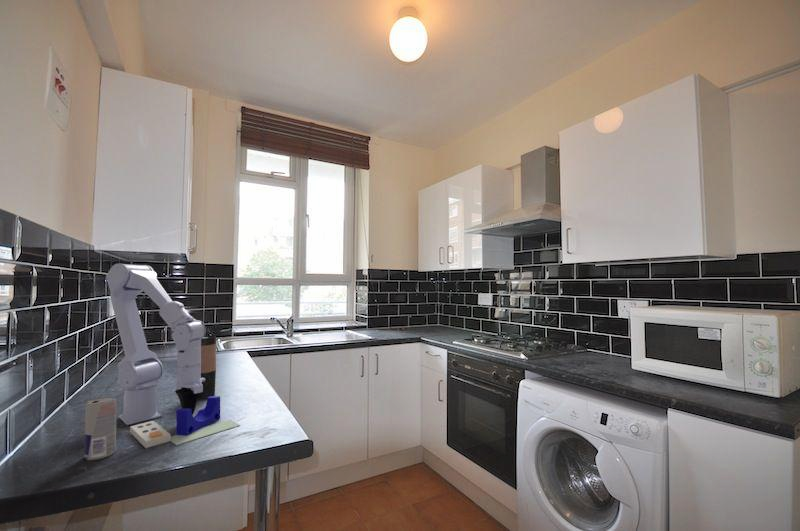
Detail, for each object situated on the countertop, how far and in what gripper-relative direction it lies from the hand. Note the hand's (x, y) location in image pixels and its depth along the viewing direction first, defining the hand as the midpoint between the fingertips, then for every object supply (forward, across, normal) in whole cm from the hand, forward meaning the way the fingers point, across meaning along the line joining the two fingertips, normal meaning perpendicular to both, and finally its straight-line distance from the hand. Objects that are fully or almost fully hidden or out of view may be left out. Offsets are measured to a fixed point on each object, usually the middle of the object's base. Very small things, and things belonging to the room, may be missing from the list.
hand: (188, 414), depth 99 cm
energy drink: (+2, -7, +20) cm, 21 cm away
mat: (+2, -12, 0) cm, 12 cm away
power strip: (+2, -4, +10) cm, 11 cm away
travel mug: (+2, +20, -11) cm, 23 cm away
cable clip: (+2, -6, 0) cm, 7 cm away
